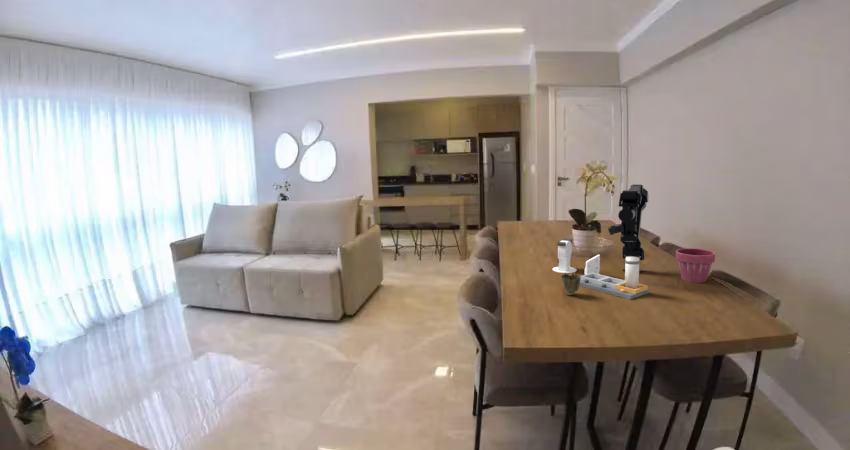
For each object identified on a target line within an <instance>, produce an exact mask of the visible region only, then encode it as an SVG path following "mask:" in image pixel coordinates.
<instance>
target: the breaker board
mask: <svg viewBox="0 0 850 450" xmlns="http://www.w3.org/2000/svg"><path fill="white" fill-rule="evenodd" d="M580 276H581V278H580V285H579V287H583V288H587V289H591V290H594V291H597V292H601V293H605V294H608V295H613V296H616V297H620V298H622V299H627V300H630V301H631V300H633V299H636V298H638V297H642V296H644V295H647V294H650V289H649V286H648V285H645V284H641V283H639V286H638V288H637V289H631V288H628V287H625V279H620V278H616V277H611V276H608V275H603V274H600V273H599V274H596V273H590V274H586V275H585V274H583V275H580Z"/></svg>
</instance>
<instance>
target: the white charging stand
mask: <svg viewBox="0 0 850 450" xmlns="http://www.w3.org/2000/svg"><path fill="white" fill-rule="evenodd" d="M572 241H573V239H572V238H563V240H560V241H558V242H557V250H556V251H557V263H558V266H554V267H552V271H554V272H555V273H560V274H565V273H566V274H574V273H576V272H577V268H575V267H571V256H572V252H573V251H572V250H573V242H572ZM573 272H574V273H573Z"/></svg>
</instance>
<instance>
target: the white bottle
mask: <svg viewBox="0 0 850 450" xmlns="http://www.w3.org/2000/svg"><path fill="white" fill-rule="evenodd" d="M639 259H640V258H638V257H626V259H624V261H625V265H624V266H625V267H624V269H625V271H624V280H625V287H628V288H631V289H637V288H638V286H639V284H640V281H639V280H640V277H639V275H640V272H639V269H640V268H639V263H641V260H639Z"/></svg>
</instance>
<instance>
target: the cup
mask: <svg viewBox="0 0 850 450" xmlns="http://www.w3.org/2000/svg"><path fill="white" fill-rule="evenodd" d="M581 276H582V275H578V274H577V273H571V274H570V275H569V273H563V274H561V276H560V277H561V285H562V288H563V290H565V293H566V295H568V296H575V295H576V292H577V291H578V290H579V289H580V288H579V287H580V286H579V285H580V278H581Z"/></svg>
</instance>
